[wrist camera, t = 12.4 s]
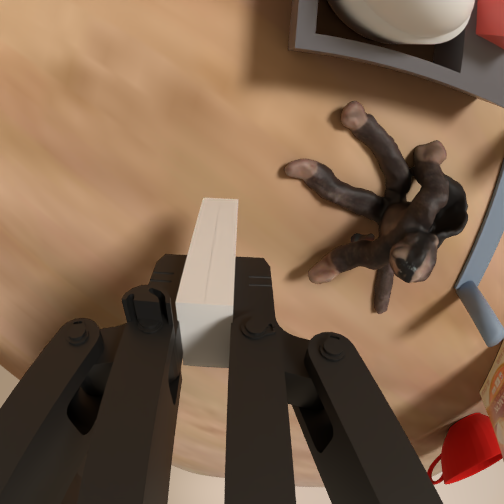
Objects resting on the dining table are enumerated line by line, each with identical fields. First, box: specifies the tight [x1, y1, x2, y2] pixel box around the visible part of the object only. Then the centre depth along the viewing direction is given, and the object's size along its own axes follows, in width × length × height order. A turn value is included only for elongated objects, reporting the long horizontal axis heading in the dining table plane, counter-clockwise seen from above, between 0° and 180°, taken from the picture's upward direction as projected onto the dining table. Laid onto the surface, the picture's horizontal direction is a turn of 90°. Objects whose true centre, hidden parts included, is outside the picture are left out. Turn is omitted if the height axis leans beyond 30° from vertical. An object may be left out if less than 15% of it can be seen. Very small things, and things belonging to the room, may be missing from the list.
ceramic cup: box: [427, 413, 503, 485], centre depth 37 cm, size 13×17×10 cm
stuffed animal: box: [284, 101, 468, 314], centre depth 19 cm, size 12×10×12 cm
